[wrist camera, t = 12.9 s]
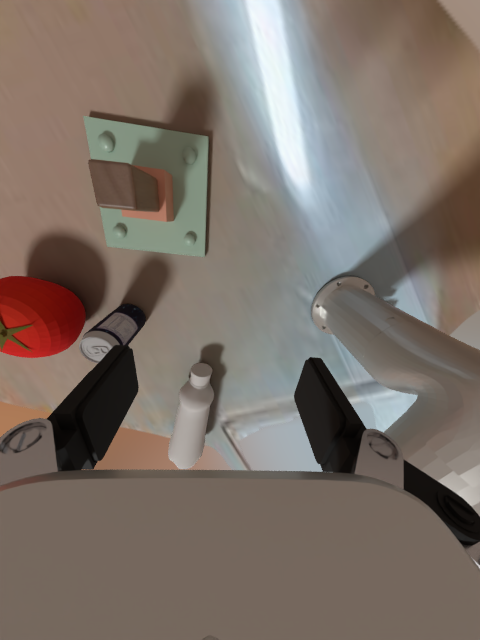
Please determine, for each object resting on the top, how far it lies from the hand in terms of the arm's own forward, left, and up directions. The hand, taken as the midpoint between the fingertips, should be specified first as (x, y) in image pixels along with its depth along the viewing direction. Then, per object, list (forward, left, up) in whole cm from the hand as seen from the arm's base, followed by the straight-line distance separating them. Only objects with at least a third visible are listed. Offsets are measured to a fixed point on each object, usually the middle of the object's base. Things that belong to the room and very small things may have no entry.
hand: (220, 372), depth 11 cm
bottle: (+5, +37, -29) cm, 47 cm away
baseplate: (+12, -9, -28) cm, 32 cm away
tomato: (+31, +11, -28) cm, 44 cm away
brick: (+12, -9, -27) cm, 31 cm away
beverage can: (+18, +12, -28) cm, 36 cm away
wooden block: (+12, -9, -24) cm, 28 cm away
